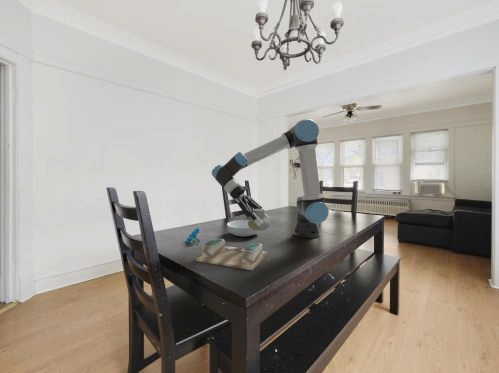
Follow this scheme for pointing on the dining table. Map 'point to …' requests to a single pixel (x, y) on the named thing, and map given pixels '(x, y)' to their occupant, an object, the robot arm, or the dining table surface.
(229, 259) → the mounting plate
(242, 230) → the serving bowl
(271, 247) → the dining table surface
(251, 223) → the air freshener
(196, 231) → the gear
